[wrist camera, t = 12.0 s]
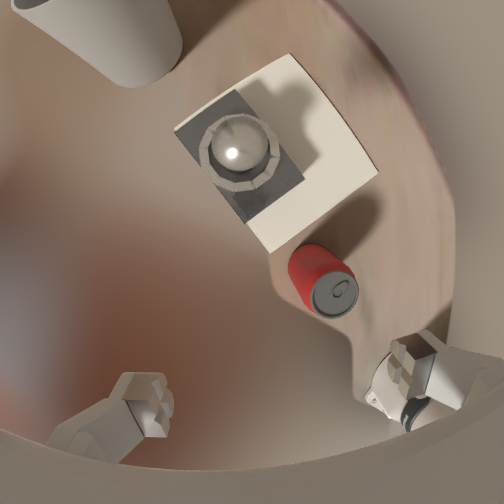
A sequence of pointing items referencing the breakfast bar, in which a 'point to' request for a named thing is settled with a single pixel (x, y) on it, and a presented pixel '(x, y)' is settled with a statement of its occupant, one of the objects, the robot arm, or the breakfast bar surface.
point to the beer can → (323, 281)
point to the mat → (301, 148)
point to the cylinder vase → (112, 34)
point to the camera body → (240, 184)
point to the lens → (239, 144)
